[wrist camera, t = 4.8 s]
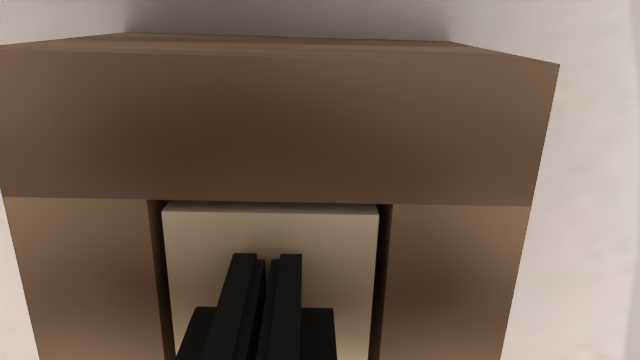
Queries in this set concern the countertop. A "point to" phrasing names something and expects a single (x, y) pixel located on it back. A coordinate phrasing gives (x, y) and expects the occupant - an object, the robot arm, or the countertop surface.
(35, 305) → the walnut block
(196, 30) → the countertop surface
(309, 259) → the peg
